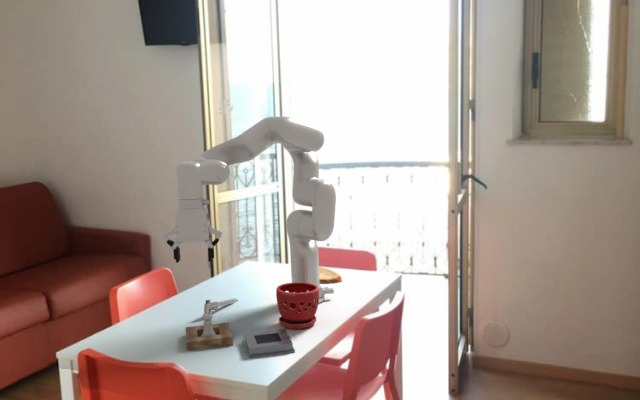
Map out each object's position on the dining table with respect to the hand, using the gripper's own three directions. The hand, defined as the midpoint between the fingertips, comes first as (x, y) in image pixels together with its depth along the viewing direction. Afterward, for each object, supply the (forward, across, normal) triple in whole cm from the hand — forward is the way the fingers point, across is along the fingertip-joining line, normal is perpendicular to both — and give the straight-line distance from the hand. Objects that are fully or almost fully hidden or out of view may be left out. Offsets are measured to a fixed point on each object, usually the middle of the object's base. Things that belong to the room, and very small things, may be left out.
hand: (194, 261), depth 202 cm
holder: (+23, -22, +12) cm, 34 cm away
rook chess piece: (+23, -4, +5) cm, 24 cm away
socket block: (+23, -4, +5) cm, 24 cm away
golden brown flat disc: (+22, -36, -59) cm, 73 cm away
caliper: (+23, -3, -24) cm, 33 cm away
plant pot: (+23, -30, -6) cm, 38 cm away
